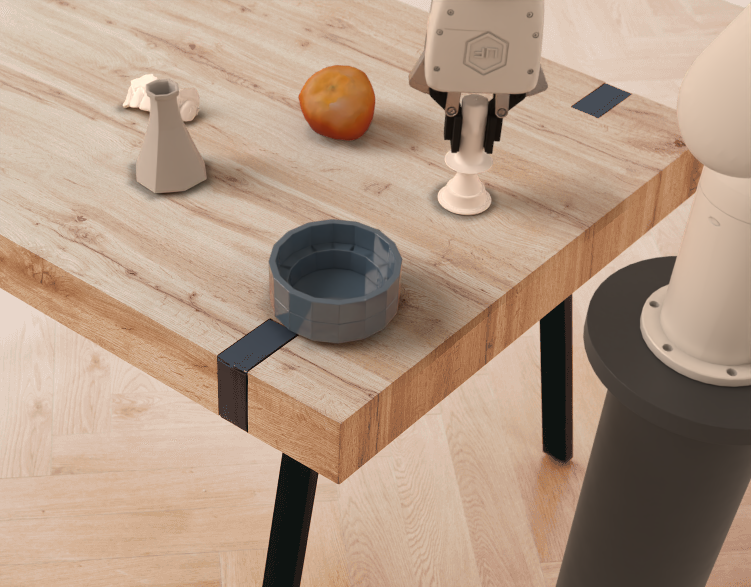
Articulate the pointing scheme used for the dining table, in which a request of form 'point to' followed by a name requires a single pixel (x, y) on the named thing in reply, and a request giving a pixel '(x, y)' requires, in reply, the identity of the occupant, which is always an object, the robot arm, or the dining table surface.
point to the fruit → (338, 102)
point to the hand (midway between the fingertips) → (470, 144)
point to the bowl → (335, 280)
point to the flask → (167, 144)
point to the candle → (469, 162)
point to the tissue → (139, 98)
